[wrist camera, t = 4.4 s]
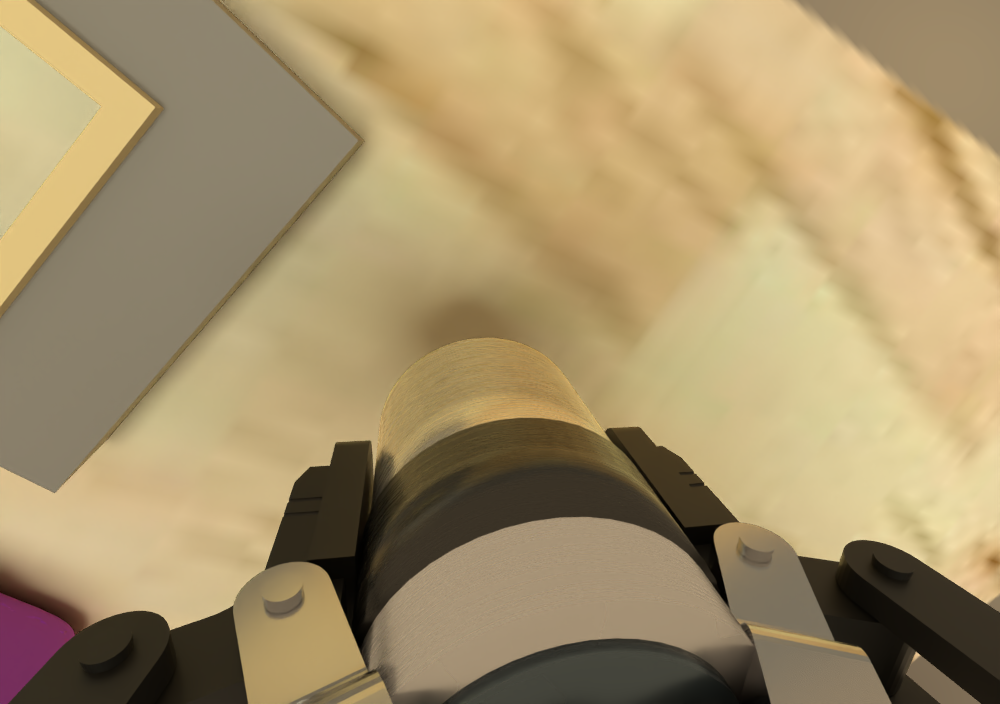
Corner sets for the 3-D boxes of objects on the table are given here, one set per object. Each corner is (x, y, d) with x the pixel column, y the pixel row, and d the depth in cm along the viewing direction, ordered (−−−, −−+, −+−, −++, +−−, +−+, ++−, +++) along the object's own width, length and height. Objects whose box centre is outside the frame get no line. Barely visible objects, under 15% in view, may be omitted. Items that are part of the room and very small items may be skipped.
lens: (620, 424, 14) (871, 745, 6) (478, 548, 15) (552, 969, 7) (485, 288, 12) (619, 519, 4) (329, 439, 13) (212, 859, 5)
